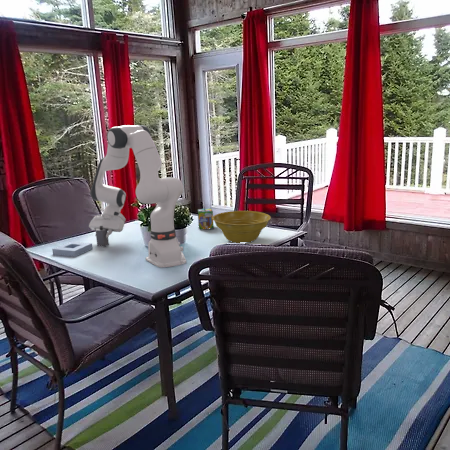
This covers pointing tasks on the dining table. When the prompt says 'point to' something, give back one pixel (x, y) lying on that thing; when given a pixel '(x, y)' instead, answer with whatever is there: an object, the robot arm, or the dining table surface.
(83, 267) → the dining table surface
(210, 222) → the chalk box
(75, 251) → the socket
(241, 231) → the planter bowl
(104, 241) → the plug
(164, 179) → the robot arm
